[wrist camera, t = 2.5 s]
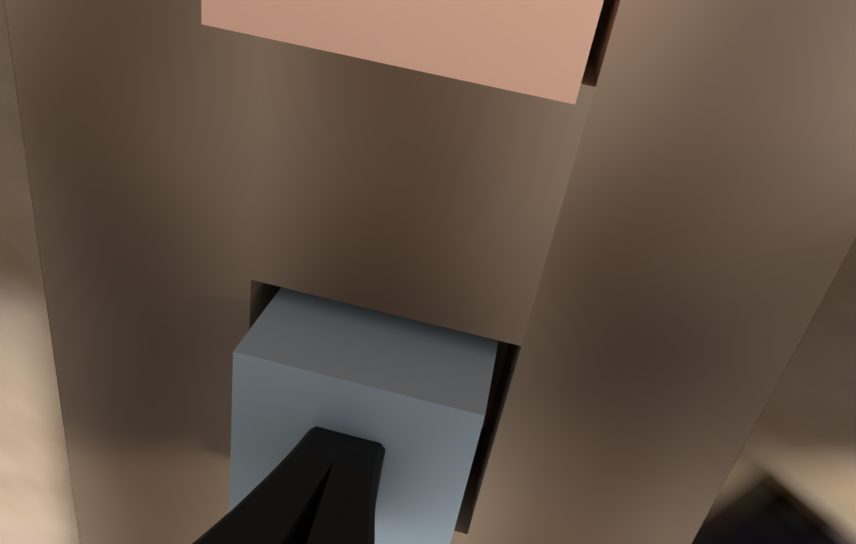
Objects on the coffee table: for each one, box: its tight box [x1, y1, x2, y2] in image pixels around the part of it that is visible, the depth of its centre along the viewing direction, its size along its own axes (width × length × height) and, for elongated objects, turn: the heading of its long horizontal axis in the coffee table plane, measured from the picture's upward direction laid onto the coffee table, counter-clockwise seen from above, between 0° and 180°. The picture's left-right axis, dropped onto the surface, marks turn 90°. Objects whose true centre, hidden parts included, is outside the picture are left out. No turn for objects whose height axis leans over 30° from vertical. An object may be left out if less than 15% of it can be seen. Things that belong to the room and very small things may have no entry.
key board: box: [4, 0, 856, 544], centre depth 16 cm, size 14×31×4 cm, turn 171°
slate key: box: [229, 287, 498, 544], centre depth 14 cm, size 4×4×4 cm
